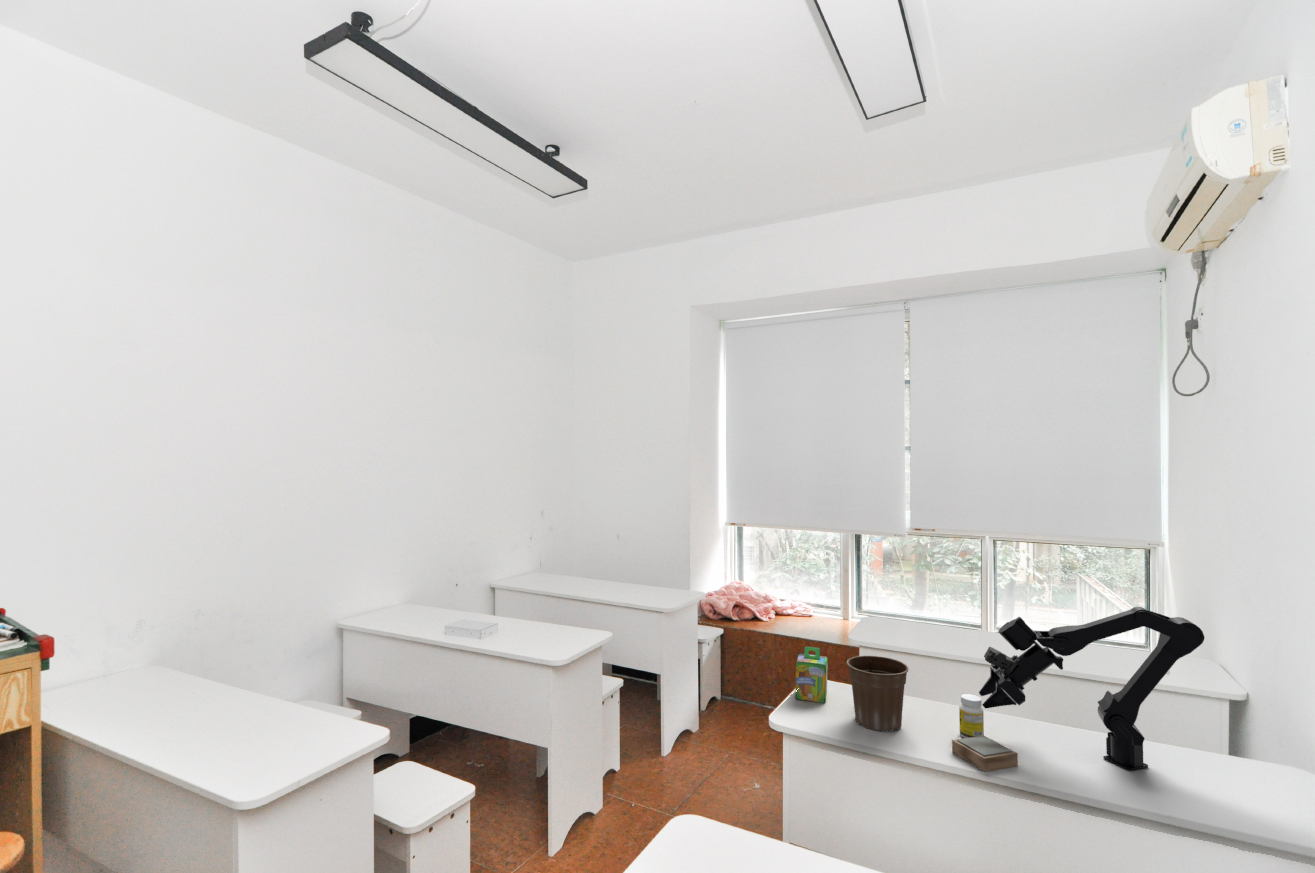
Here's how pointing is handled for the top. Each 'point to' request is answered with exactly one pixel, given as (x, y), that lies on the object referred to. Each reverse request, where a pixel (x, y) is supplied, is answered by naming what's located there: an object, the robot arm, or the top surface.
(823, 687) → the chalk box
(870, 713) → the plant pot
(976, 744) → the plinth
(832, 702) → the top surface
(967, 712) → the supplement bottle
